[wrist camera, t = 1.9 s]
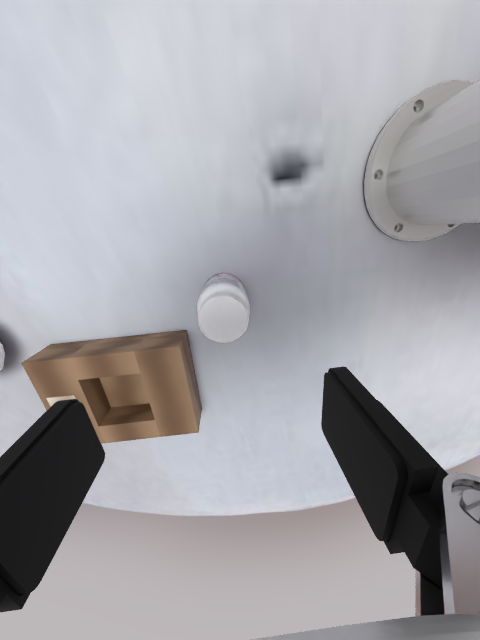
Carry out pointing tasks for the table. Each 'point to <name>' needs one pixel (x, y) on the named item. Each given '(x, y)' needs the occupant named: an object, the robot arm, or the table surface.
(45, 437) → the robot arm
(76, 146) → the table surface
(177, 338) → the brown flat recessed slab
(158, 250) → the table surface
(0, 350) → the geometric ball
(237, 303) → the pill bottle
